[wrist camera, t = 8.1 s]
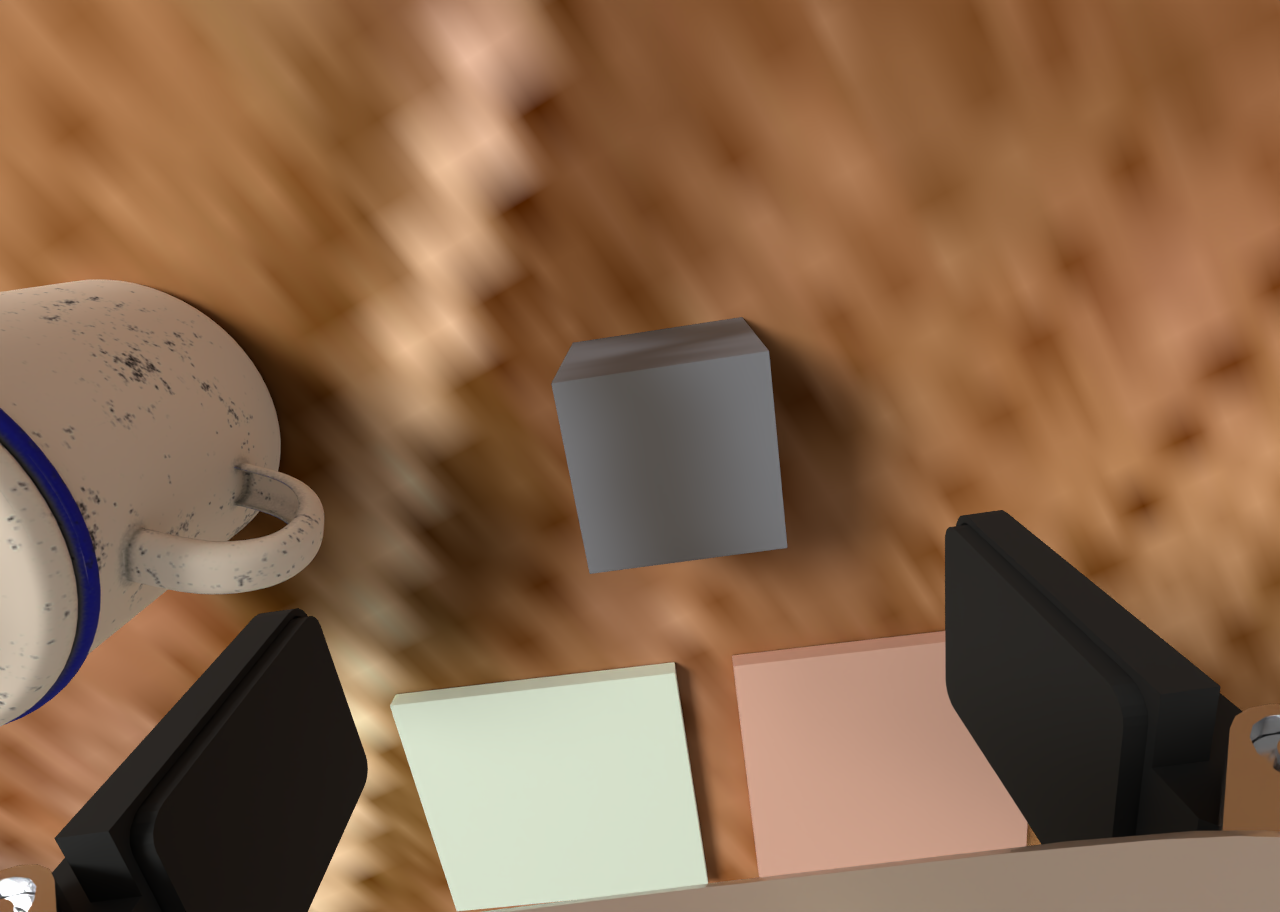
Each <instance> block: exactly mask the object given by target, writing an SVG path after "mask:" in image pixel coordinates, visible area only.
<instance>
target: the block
mask: <svg viewBox="0 0 1280 912" xmlns="http://www.w3.org/2000/svg"><path fill="white" fill-rule="evenodd" d="M551 384H552V389H553V394H554V399H555V404H556V409H557V414H558V419H559V423H560V428H561V433H562V438H563V443H564V448H565V453H566V458H567V463H568V468H569V473H570V478H571V483H572V488H573V493H574V498H575V503H576V508H577V513H578V518H579V523H580V528H581V533H582V538H583V543H584V548H585V553H586V558H587V563H588V568H589V573H590V574H592V573H599V572H607V571H615V570H622V569H630V568H637V567H645V566H653V565H660V564H668V563H676V562H683V561H691V560H698V559H706V558H714V557H721V556H729V555H737V554H744V553H752V552H759V551H767V550H775V549H782V548H787V538H786V527H785V517H784V506H783V495H782V485H781V474H780V463H779V453H778V442H777V431H776V421H775V410H774V399H773V389H772V378H771V367H770V357H769V350H768V349H767V348H766V347H765V345H764V344H763V343H762V342H761V340H760V339H759V338H758V337H757V335H756V334H755V333H754V332H753V330H752V329H751V328H750V326H749V325H748V324H747V323H746V321H745V320H744V319H743V318H742V317H740V318H733V319H727V320H720V321H713V322H707V323H700V324H694V325H687V326H681V327H674V328H667V329H661V330H654V331H648V332H641V333H635V334H628V335H621V336H615V337H608V338H602V339H595V340H588V341H582V342H575V343H573V344H572V346H571V348H570V349H569V351H568V353H567V355H566V357H565V359H564V361H563V363H562V364H561V366H560V368H559V370H558V372H557V374H556V376H555V378H554V379H553V381H552V383H551Z"/></svg>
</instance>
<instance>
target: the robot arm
mask: <svg viewBox="0 0 1280 912" xmlns="http://www.w3.org/2000/svg"><path fill="white" fill-rule="evenodd" d="M945 669H946V688H947V693H948V696H949V699H950V702H951V704H952V706H953V708H954V710H955V711H956V713H957V714H958V716H959V717H960V719H961V720H962V722H963V723H964V725H965V727H966V728H967V730H968V731H969V733H970V734H971V736H972V737H973V739H974V740H975V742H976V744H977V745H978V747H979V748H980V750H981V751H982V753H983V754H984V756H985V757H986V759H987V760H988V762H989V764H990V765H991V767H992V768H993V770H994V771H995V773H996V774H997V776H998V777H999V779H1000V781H1001V782H1002V784H1003V785H1004V787H1005V788H1006V790H1007V791H1008V793H1009V794H1010V796H1011V798H1012V799H1013V801H1014V802H1015V804H1016V805H1017V807H1018V808H1019V810H1020V811H1021V813H1022V815H1023V816H1024V818H1025V819H1026V821H1027V822H1028V824H1029V825H1030V827H1031V828H1032V830H1033V832H1034V833H1035V835H1036V836H1037V838H1038V839H1039V841H1040V842H1041V845H1032V846H1024V847H1015V848H1006V849H997V850H988V851H980V852H971V853H962V854H953V855H945V856H937V857H928V858H920V859H911V860H903V861H894V862H886V863H877V864H869V865H860V866H852V867H843V868H835V869H826V870H818V871H809V872H801V873H792V874H784V875H775V876H767V877H758V878H750V879H741V880H733V881H725V882H717V883H708V884H700V885H692V886H684V887H676V888H668V889H660V890H651V891H643V892H635V893H627V894H619V895H611V896H603V897H595V898H587V899H579V900H571V901H563V902H555V903H547V904H539V905H531V906H523V907H515V908H507V909H499V910H491V911H483V912H1280V704H1266V705H1261V706H1256V707H1251V708H1248V709H1246V710H1245V711H1243V712H1242V711H1241V710H1240V709H1239V708H1237V707H1236V706H1235V705H1234V704H1233V703H1231V702H1230V701H1229V700H1228V699H1226V698H1225V697H1224V696H1223V695H1222V694H1220V687H1221V686H1219V685H1218V684H1217V683H1216V682H1214V681H1213V680H1212V679H1211V678H1209V677H1208V676H1207V675H1206V674H1205V673H1203V672H1202V671H1201V670H1200V669H1198V668H1197V667H1196V666H1195V665H1193V664H1192V663H1191V662H1190V661H1189V660H1187V659H1186V658H1185V657H1184V656H1182V655H1181V654H1180V653H1179V652H1177V651H1176V650H1175V649H1174V648H1173V647H1171V646H1170V645H1169V644H1168V643H1166V642H1165V641H1164V640H1163V639H1161V638H1160V637H1159V636H1158V635H1157V634H1155V633H1154V632H1153V631H1152V630H1150V629H1149V628H1148V627H1147V626H1146V625H1144V624H1143V623H1142V622H1141V621H1139V620H1138V619H1137V618H1136V617H1134V616H1133V615H1132V614H1131V613H1130V612H1128V611H1127V610H1126V609H1125V608H1123V607H1122V606H1121V605H1120V604H1118V603H1117V602H1116V601H1115V600H1114V599H1112V598H1111V597H1110V596H1109V595H1107V594H1106V593H1105V592H1104V591H1102V590H1101V589H1100V588H1099V587H1098V586H1096V585H1095V584H1094V583H1093V582H1091V581H1090V580H1089V579H1088V578H1086V577H1085V576H1084V575H1083V574H1082V573H1080V572H1079V571H1078V570H1077V569H1075V568H1074V567H1073V566H1072V565H1071V564H1069V563H1068V562H1067V561H1066V560H1064V559H1063V558H1062V557H1061V556H1059V555H1058V554H1057V553H1056V552H1055V551H1053V550H1052V549H1051V548H1050V547H1048V546H1047V545H1046V544H1045V543H1043V542H1042V541H1041V540H1040V539H1039V538H1037V537H1036V536H1035V535H1034V534H1032V533H1031V532H1030V531H1029V530H1027V529H1026V528H1025V527H1024V526H1023V525H1021V524H1020V523H1019V522H1018V521H1016V520H1015V519H1014V518H1013V517H1011V516H1010V515H1009V514H1008V513H1006V512H1005V511H1003V510H999V511H992V512H985V513H977V514H970V515H963V516H960V517H959V519H958V521H957V524H956V527H949V528H948V529H947V531H946V535H945ZM367 771H368V766H367V759H366V755H365V752H364V749H363V747H362V744H361V741H360V738H359V735H358V732H357V729H356V726H355V724H354V721H353V718H352V715H351V712H350V709H349V706H348V703H347V701H346V698H345V695H344V692H343V689H342V686H341V683H340V680H339V677H338V675H337V672H336V669H335V666H334V663H333V660H332V657H331V654H330V652H329V649H328V646H327V643H326V640H325V637H324V634H323V631H322V629H321V626H320V624H319V622H318V620H317V619H316V618H315V617H313V616H309V617H308V616H307V614H306V613H305V612H304V611H303V610H301V609H299V608H297V609H290V610H283V611H276V612H269V613H262V614H258V615H257V616H255V617H254V618H253V619H252V620H251V621H250V622H249V623H248V625H247V626H246V627H245V628H244V629H243V630H242V631H241V632H240V633H239V635H238V636H237V637H236V638H235V639H234V640H233V641H232V642H231V643H230V645H229V646H228V647H227V648H226V649H225V650H224V651H223V652H222V653H221V654H220V656H219V657H218V658H217V659H216V660H215V661H214V662H213V663H212V664H211V666H210V667H209V668H208V669H207V670H206V671H205V672H204V673H203V674H202V676H201V677H200V678H199V679H198V680H197V681H196V682H195V683H194V684H193V685H192V687H191V688H190V689H189V690H188V691H187V692H186V693H185V694H184V695H183V697H182V698H181V699H180V700H179V701H178V702H177V703H176V704H175V705H174V707H173V708H172V709H171V710H170V711H169V712H168V713H167V714H166V715H165V716H164V718H163V719H162V720H161V721H160V722H159V723H158V724H157V725H156V726H155V728H154V729H153V730H152V731H151V732H150V733H149V734H148V735H147V736H146V738H145V739H144V740H143V741H142V742H141V743H140V744H139V745H138V746H137V747H136V749H135V750H134V751H133V752H132V753H131V754H130V755H129V756H128V757H127V759H126V760H125V761H124V762H123V763H122V764H121V765H120V766H119V767H118V769H117V770H116V771H115V772H114V773H113V774H112V775H111V776H110V777H109V779H108V780H107V781H106V782H105V783H104V784H103V785H102V786H101V787H100V788H99V790H98V791H97V792H96V793H95V794H94V795H93V796H92V797H91V798H90V800H89V801H88V802H87V803H86V804H85V805H84V806H83V807H82V808H81V810H80V811H79V812H78V813H77V814H76V815H75V816H74V817H73V818H72V819H71V821H70V822H69V823H68V824H67V825H66V826H65V827H64V828H63V829H62V831H61V832H60V833H59V834H58V835H57V836H56V837H55V840H56V842H57V844H58V845H59V847H60V849H61V851H62V853H63V854H64V856H65V858H64V860H63V861H62V862H61V863H60V864H59V865H58V867H57V868H56V869H55V870H54V871H53V872H51V871H50V869H48V868H46V867H43V866H41V865H38V864H32V865H18V866H15V867H11V868H8V869H4V870H1V871H0V912H308V910H309V908H310V905H311V903H312V901H313V899H314V897H315V894H316V892H317V890H318V888H319V885H320V883H321V881H322V879H323V877H324V874H325V872H326V870H327V868H328V866H329V863H330V861H331V859H332V857H333V854H334V852H335V850H336V848H337V846H338V843H339V841H340V839H341V837H342V835H343V832H344V830H345V828H346V826H347V823H348V821H349V819H350V817H351V815H352V812H353V810H354V808H355V806H356V804H357V801H358V799H359V797H360V795H361V792H362V790H363V788H364V786H365V783H366V779H367Z"/></svg>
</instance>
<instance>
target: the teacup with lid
mask: <svg viewBox="0 0 1280 912" xmlns="http://www.w3.org/2000/svg"><path fill="white" fill-rule="evenodd" d="M280 454H281V439H280V429H279V423H278V418H277V414H276V410H275V407H274V404H273V401H272V398H271V396H270V393H269V391H268V389H267V386H266V385H265V383H264V381H263V379H262V377H261V375H260V373H259V372H258V370H257V369H256V367H255V365H254V364H253V362H252V361H251V360H250V358H249V357H248V356H247V354H246V353H245V352H244V350H243V349H242V348H241V347H240V346H239V345H238V344H237V342H236V341H235V340H234V339H233V338H232V337H231V336H230V335H229V334H228V333H227V332H226V331H225V330H223V329H222V328H221V327H220V326H219V325H218V324H216V323H215V322H214V321H213V320H211V319H210V318H209V317H207V316H206V315H205V314H203V313H202V312H200V311H199V310H197V309H196V308H194V307H192V306H190V305H189V304H187V303H185V302H184V301H182V300H179V299H177V298H175V297H173V296H171V295H169V294H167V293H164V292H161V291H159V290H156V289H153V288H150V287H147V286H143V285H139V284H136V283H130V282H124V281H116V280H82V281H74V282H67V283H60V284H53V285H46V286H39V287H33V288H26V289H19V290H12V291H5V292H0V726H2V725H4V724H7V723H10V722H12V721H15V720H17V719H19V718H22V717H24V716H26V715H27V714H29V713H31V712H33V711H35V710H37V709H38V708H40V707H41V706H42V705H44V704H45V703H47V702H48V701H49V700H51V699H52V698H53V697H55V696H56V695H57V694H58V693H59V692H60V691H61V690H62V689H63V688H64V687H65V686H66V685H67V684H68V683H69V682H70V681H71V679H72V678H73V677H74V676H75V674H76V673H77V672H78V670H79V669H80V667H81V666H82V664H83V662H84V661H85V659H86V657H87V655H88V654H89V653H90V652H92V651H93V650H94V649H95V648H96V647H98V646H99V645H100V644H101V643H103V642H104V641H105V640H106V639H107V638H109V637H110V636H111V635H112V634H114V633H115V632H116V631H117V630H119V629H120V628H121V627H122V626H123V625H125V624H126V623H127V622H128V621H130V620H131V619H132V618H133V617H135V616H136V615H137V614H138V613H139V612H141V611H142V610H143V609H144V608H146V607H147V606H148V605H149V604H151V603H152V602H153V601H154V600H155V599H157V598H158V597H159V596H160V595H162V594H163V593H164V592H165V591H167V590H168V589H169V590H175V591H181V592H188V593H197V594H232V593H241V592H248V591H253V590H258V589H263V588H267V587H270V586H274V585H276V584H279V583H281V582H284V581H286V580H288V579H289V578H291V577H293V576H295V575H296V574H297V573H299V572H300V571H302V570H303V569H304V568H305V567H306V566H307V565H308V564H309V563H310V562H311V561H312V560H313V558H314V557H315V555H316V554H317V552H318V550H319V548H320V546H321V543H322V539H323V532H324V510H323V506H322V504H321V501H320V499H319V498H318V496H317V495H316V493H315V492H314V491H313V490H312V489H311V488H310V487H309V486H307V485H306V484H304V483H303V482H301V481H300V480H298V479H296V478H294V477H291V476H289V475H287V474H284V473H281V472H278V469H279V463H280ZM259 511H261V512H264V513H267V514H270V515H272V516H275V517H277V518H279V519H281V520H283V521H284V522H285V523H287V524H288V525H287V526H285V527H284V528H283V529H281V530H279V531H277V532H275V533H273V534H270V535H267V536H264V537H260V538H254V539H248V540H240V541H228V540H229V539H231V538H232V537H233V536H234V535H235V534H237V533H238V532H239V531H240V530H242V529H243V528H244V527H245V526H246V525H247V524H248V523H249V522H250V521H252V519H253V518H254V517H255V516H256V515H257V514H258V512H259Z"/></svg>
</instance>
